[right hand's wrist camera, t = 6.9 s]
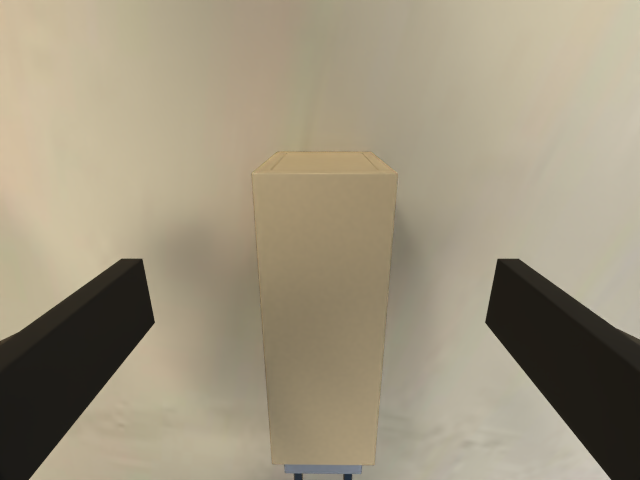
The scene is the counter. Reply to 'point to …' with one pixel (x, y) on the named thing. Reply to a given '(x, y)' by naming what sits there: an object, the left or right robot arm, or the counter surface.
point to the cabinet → (324, 300)
